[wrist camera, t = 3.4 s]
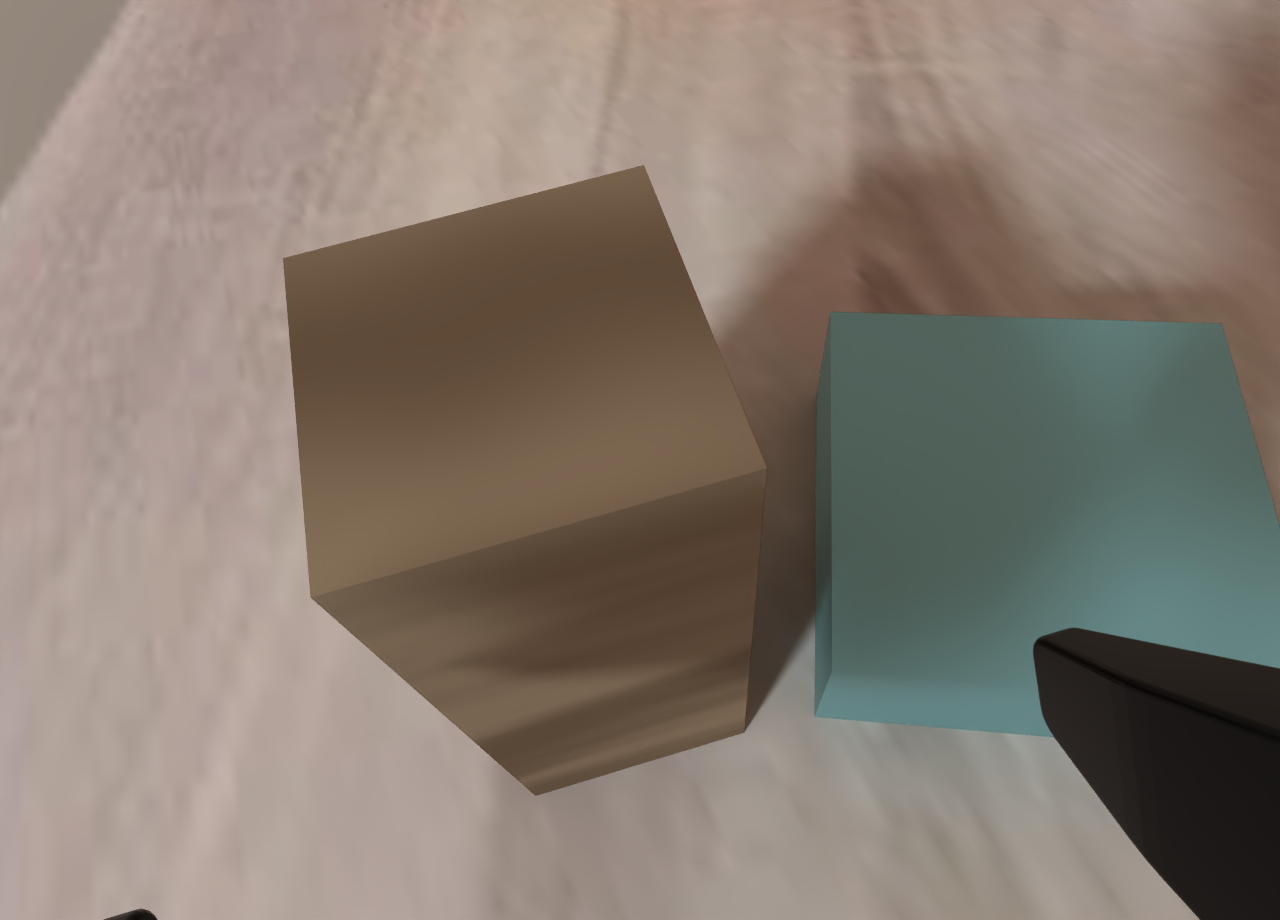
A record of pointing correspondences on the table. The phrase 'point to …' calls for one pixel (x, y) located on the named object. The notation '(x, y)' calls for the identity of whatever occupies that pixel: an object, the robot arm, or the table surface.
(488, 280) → the walnut block
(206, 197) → the table surface
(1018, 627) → the teal base block
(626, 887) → the table surface
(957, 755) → the table surface
